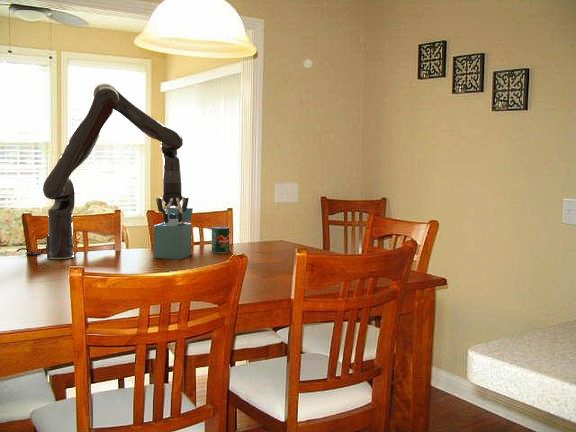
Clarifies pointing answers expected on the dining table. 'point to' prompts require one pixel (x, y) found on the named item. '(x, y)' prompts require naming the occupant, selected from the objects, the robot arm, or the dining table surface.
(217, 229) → the canned tomato
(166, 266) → the dining table surface
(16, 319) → the dining table surface
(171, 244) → the carton
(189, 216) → the flap
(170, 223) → the bottle
